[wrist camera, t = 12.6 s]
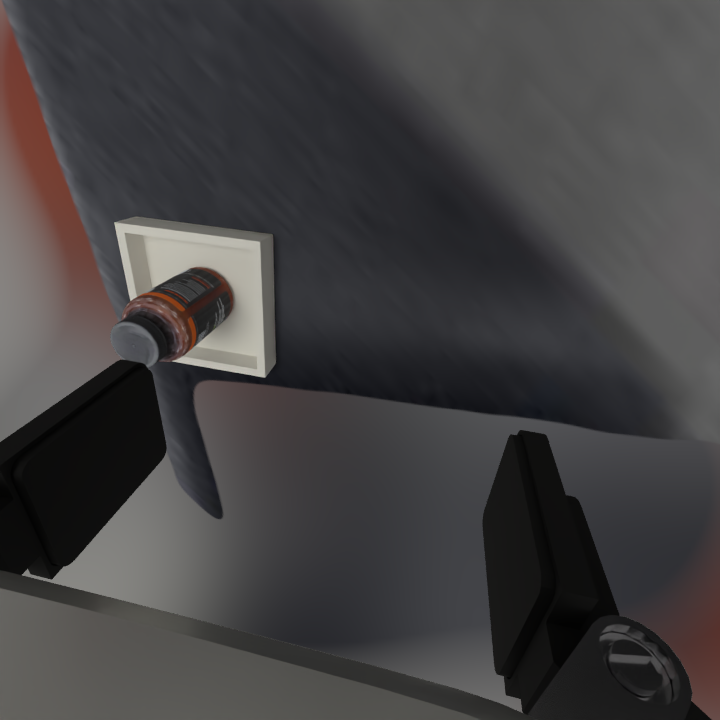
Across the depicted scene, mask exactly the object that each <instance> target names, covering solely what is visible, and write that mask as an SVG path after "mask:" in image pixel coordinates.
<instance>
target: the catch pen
mask: <svg viewBox="0 0 720 720" xmlns="http://www.w3.org/2000/svg"><path fill="white" fill-rule="evenodd" d="M114 223H115V228H116V233H117V238H118V243H119V248H120V252H121V257H122V262H123V267H124V272H125V277H126V282H127V286H128V291H129V296H130V301H131V300H133V299H134V298H136V297H138V296H140V295H141V294H143V293H145V292H147V291H149V290H150V289H152V288H154V287H156V286H158V285H159V284H161V283H163V282H165V281H167V280H168V279H170V278H172V277H174V276H176V275H178V274H179V273H181V272H183V271H185V270H188V269H190V268H194V267H203V268H207V269H210V270H212V271H214V272H216V273H217V274H219V275H220V276H221V277H222V278H223V279H224V280H225V281H226V283H227V284H228V286H229V288H230V290H231V292H232V295H233V309H232V311H231V313H230V315H229V316H228V318H227V319H226V320H225V321H223V322H222V323H221V324H220V325H219V326H218V327H217V328H215V329H214V330H213V331H212V332H211V333H210V334H209V335H207V336H206V337H205V338H204V339H203V340H202V341H201V342H199V343H198V344H197V345H196V346H195V347H194V348H192V349H191V350H190V351H189V352H188V353H186V354H185V355H184V356H182V357H181V358H179V359H177V360H174V362H179V363H185V364H191V365H196V366H202V367H208V368H214V369H219V370H225V371H231V372H236V373H242V374H248V375H253V376H259V377H266V376H267V375H268V373H269V372H270V371H271V369H272V368H273V367H274V365H275V364H276V343H275V298H274V254H273V234H267V233H260V232H252V231H244V230H237V229H229V228H221V227H214V226H206V225H198V224H191V223H183V222H175V221H168V220H160V219H152V218H145V217H137V216H136V217H132V218H129V219H125V220H121V221H118V222H114Z"/></svg>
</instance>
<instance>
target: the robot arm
mask: <svg viewBox="0 0 720 720" xmlns="http://www.w3.org/2000/svg"><path fill="white" fill-rule="evenodd" d="M166 448H167V447H166V441H165V436H164V431H163V426H162V420H161V415H160V410H159V405H158V400H157V395H156V390H155V385H154V380H153V375H152V372H151V371H150V370H148V368H147V366H146V365H145V364H143V363H140V362H134V361H129V360H119V361H117V362H115V363H114V364H112V365H111V366H110V367H109V368H107V369H105V370H104V371H102V372H101V373H100V374H98V375H97V376H95V377H94V378H92V379H91V380H90V381H88V382H86V383H85V384H84V385H82V386H81V387H79V388H78V389H76V390H75V391H73V392H72V393H71V394H69V395H68V396H66V397H65V398H63V399H62V400H61V401H59V402H58V403H56V404H55V405H53V406H52V407H50V408H49V409H48V410H46V411H45V412H43V413H42V414H40V415H39V416H37V417H36V418H34V419H33V420H32V421H30V422H29V423H27V424H26V425H25V426H23V427H21V428H20V429H19V430H17V431H16V432H14V433H13V434H11V435H10V436H8V437H7V438H6V439H4V440H3V441H1V442H0V720H711V719H710V718H709V717H708V716H707V715H706V714H705V713H704V712H702V710H700V709H699V708H698V707H697V706H696V705H695V704H694V703H693V702H692V701H691V698H692V689H691V685H690V680H689V677H688V675H687V673H686V671H685V669H684V667H683V665H682V663H681V661H680V660H679V658H678V657H677V656H676V654H675V653H674V652H673V650H672V649H671V648H670V647H669V645H668V644H666V643H665V642H664V641H663V640H662V639H661V638H660V637H659V636H658V635H657V634H656V633H655V632H653V631H651V630H650V629H648V628H647V627H645V626H644V625H642V624H640V623H639V622H637V621H634V620H631V619H629V618H627V617H623V616H619V612H618V610H617V607H616V604H615V601H614V598H613V596H612V592H611V590H610V587H609V584H608V581H607V578H606V575H605V573H604V570H603V567H602V564H601V561H600V559H599V555H598V553H597V550H596V547H595V544H594V541H593V539H592V536H591V533H590V530H589V527H588V524H587V521H586V518H585V516H584V513H583V510H582V507H581V505H580V503H579V501H578V500H577V499H576V498H575V497H572V496H566V495H565V491H564V488H563V485H562V482H561V479H560V476H559V473H558V469H557V466H556V463H555V460H554V457H553V454H552V450H551V448H550V444H549V441H548V438H547V436H546V435H545V434H541V433H535V432H529V431H523V430H520V431H519V432H518V434H517V435H510V436H509V438H508V441H507V444H506V447H505V450H504V453H503V456H502V459H501V462H500V465H499V468H498V471H497V474H496V477H495V480H494V483H493V486H492V489H491V492H490V495H489V498H488V501H487V504H486V507H485V510H484V514H483V536H484V548H485V560H486V572H487V583H488V596H489V608H490V620H491V631H492V643H493V656H494V666H495V671H496V673H497V674H498V675H502V676H504V682H505V692H506V695H507V696H511V697H515V698H519V699H521V704H522V711H523V713H521V712H519V711H517V710H514V709H512V708H510V707H507V706H505V705H503V704H500V703H497V702H494V701H491V700H488V699H485V698H482V697H480V696H477V695H473V694H470V693H467V692H464V691H462V690H459V689H455V688H452V687H448V686H445V685H441V684H438V683H434V682H430V681H427V680H424V679H420V678H416V677H413V676H409V675H406V674H402V673H398V672H395V671H391V670H388V669H384V668H380V667H377V666H374V665H370V664H366V663H362V662H358V661H355V660H351V659H346V658H343V657H339V656H336V655H332V654H328V653H324V652H320V651H316V650H312V649H309V648H305V647H301V646H297V645H293V644H289V643H286V642H282V641H278V640H274V639H271V638H267V637H263V636H259V635H255V634H251V633H247V632H244V631H240V630H236V629H232V628H228V627H224V626H220V625H216V624H212V623H208V622H205V621H201V620H197V619H193V618H189V617H185V616H181V615H177V614H173V613H169V612H165V611H161V610H158V609H154V608H149V607H146V606H142V605H138V604H134V603H130V602H126V601H122V600H118V599H114V598H110V597H106V596H102V595H98V594H94V593H90V592H86V591H82V590H78V589H74V588H70V587H66V586H62V585H58V584H54V583H50V582H46V581H42V580H38V579H34V578H30V577H26V576H22V574H23V573H24V572H25V571H26V570H27V569H28V570H29V572H30V574H32V575H36V576H40V577H44V578H48V579H53V578H54V576H55V575H56V574H57V573H58V572H59V571H60V570H61V569H62V568H63V566H67V565H69V564H71V563H72V562H73V561H74V560H75V559H76V558H77V557H78V555H79V554H80V553H81V552H82V551H83V550H84V549H85V547H86V546H87V545H88V544H89V543H90V542H91V541H92V539H93V538H94V537H95V536H96V535H97V534H98V533H99V531H100V530H101V529H102V528H103V527H104V526H105V525H106V523H107V522H108V521H109V520H110V519H111V518H112V517H113V515H114V514H115V513H116V512H117V511H118V510H119V509H120V507H121V506H122V505H123V504H124V503H125V502H126V501H127V499H128V498H129V497H130V496H131V495H132V494H133V493H134V491H135V490H136V489H137V488H138V487H139V486H140V485H141V483H142V482H143V481H144V480H145V479H146V478H147V477H148V475H149V474H150V473H151V472H152V471H153V470H154V469H155V467H156V466H157V465H158V464H159V463H160V462H161V461H162V459H163V458H164V456H165V453H166Z"/></svg>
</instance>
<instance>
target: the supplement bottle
mask: <svg viewBox="0 0 720 720" xmlns="http://www.w3.org/2000/svg"><path fill="white" fill-rule="evenodd" d="M232 309H233V295H232V292H231V290H230V288H229V286H228V284H227V283H226V281H225V280H224V279H223V278H222V277H221V276H220V275H219V274H217V273H216V272H214V271H212V270H210V269H207V268H203V267H194V268H190V269H188V270H185V271H183V272H181V273H179V274H178V275H176V276H174V277H172V278H170V279H168V280H167V281H165V282H163V283H161V284H159V285H158V286H156V287H154V288H152V289H150V290H149V291H147V292H145V293H143V294H141V295H140V296H138V297H136V298H134V299H133V300H131V301H130V302H129V303H128V304H127V306H126V307H125V309H124V311H123V314H122V321H121V322H119V323H117V324H116V325H115V326H114V327H113V328H112V331H111V337H110V338H111V343H112V346H113V348H114V350H115V351H116V353H117V354H118V355H119V356H120V357H121V358H122V359H123V360H129V361H134V362H140V363H143V364H145V365H146V366H147V367H150V366H152V365H154V364H155V363H157V362H158V361H162V362H170V361H174V360H177V359H179V358H181V357H182V356H184V355H185V354H186V353H188V352H189V351H190V350H191V349H192V348H194V347H195V346H196V345H197V344H198V343H199V342H201V341H202V340H203V339H204V338H205V337H206V336H207V335H209V334H210V333H211V332H212V331H213V330H214V329H215V328H217V327H218V326H219V325H220V324H221V323H222V322H223V321H225V320H226V319H227V318H228V316H229V315H230V313H231V311H232Z"/></svg>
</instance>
